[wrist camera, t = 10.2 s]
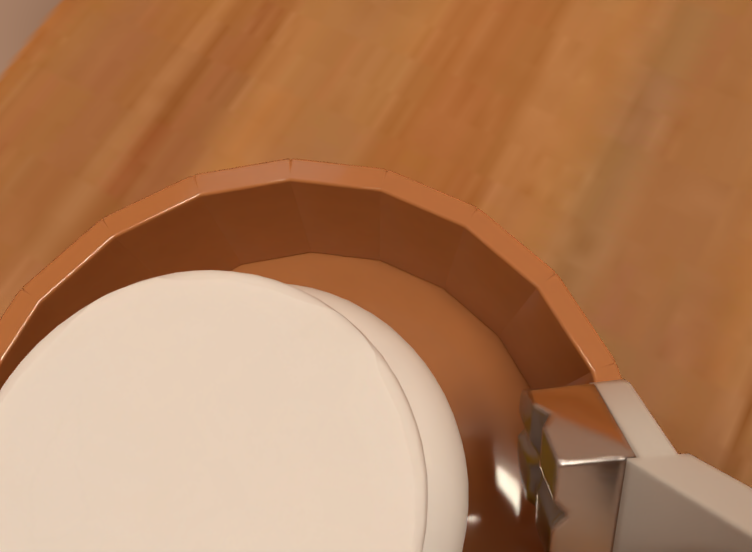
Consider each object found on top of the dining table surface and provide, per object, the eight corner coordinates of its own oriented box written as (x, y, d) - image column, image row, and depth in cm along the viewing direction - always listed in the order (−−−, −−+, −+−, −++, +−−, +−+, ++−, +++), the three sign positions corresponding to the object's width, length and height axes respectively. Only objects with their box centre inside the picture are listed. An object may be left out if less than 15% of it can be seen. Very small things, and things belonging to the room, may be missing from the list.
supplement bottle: (150, 446, 15) (-226, 383, 6) (350, 323, 16) (309, 92, 7) (265, 673, 14) (18, 1080, 4) (478, 524, 14) (659, 597, 5)
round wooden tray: (312, 156, 18) (291, 51, 13) (678, 473, 15) (795, 468, 11) (-55, 496, 15) (-226, 501, 11) (313, 948, 13) (278, 1189, 8)
